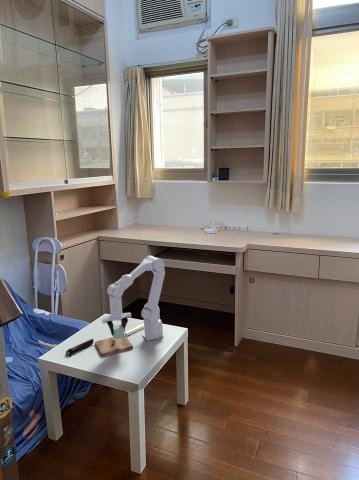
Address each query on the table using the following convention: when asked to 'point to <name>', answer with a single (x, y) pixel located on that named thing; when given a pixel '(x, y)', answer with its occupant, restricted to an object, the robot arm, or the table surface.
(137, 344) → the table surface
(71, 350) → the electric trimmer
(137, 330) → the marker
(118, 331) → the mint green cube
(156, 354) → the table surface
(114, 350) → the stub board
